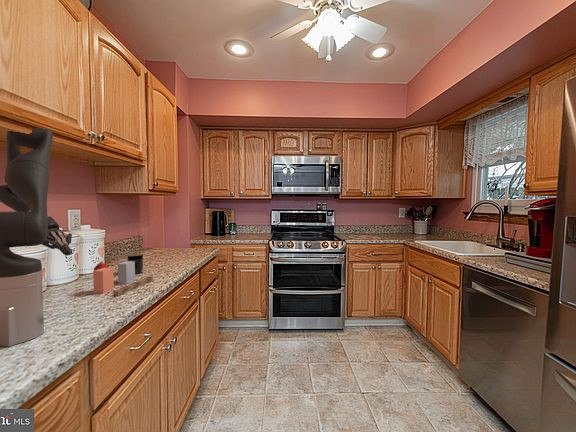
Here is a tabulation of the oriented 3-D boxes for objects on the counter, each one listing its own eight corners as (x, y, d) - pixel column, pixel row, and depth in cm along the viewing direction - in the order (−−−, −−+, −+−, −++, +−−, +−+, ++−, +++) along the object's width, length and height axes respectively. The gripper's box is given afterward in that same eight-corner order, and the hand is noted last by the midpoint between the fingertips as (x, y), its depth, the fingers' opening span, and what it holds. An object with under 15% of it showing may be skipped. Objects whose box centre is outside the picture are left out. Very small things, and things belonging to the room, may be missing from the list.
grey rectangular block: (126, 284, 111) (126, 264, 111) (118, 283, 112) (117, 263, 111) (135, 280, 116) (134, 261, 116) (126, 280, 117) (126, 261, 116)
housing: (118, 299, 97) (118, 291, 97) (85, 297, 99) (85, 289, 99) (152, 283, 117) (152, 276, 117) (125, 282, 119) (125, 275, 118)
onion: (101, 280, 121) (100, 263, 121) (90, 279, 122) (90, 262, 122) (111, 276, 127) (111, 260, 126) (101, 276, 128) (101, 259, 128)
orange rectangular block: (103, 293, 99) (102, 271, 99) (93, 293, 100) (93, 270, 100) (113, 289, 104) (113, 268, 104) (104, 288, 105) (104, 267, 104)
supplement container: (142, 277, 127) (142, 255, 126) (126, 278, 124) (125, 256, 124) (144, 273, 133) (144, 253, 133) (128, 274, 131) (128, 253, 130)
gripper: (28, 216, 97) (58, 250, 96) (63, 214, 110) (90, 244, 109) (16, 230, 98) (46, 264, 97) (52, 227, 111) (79, 257, 110)
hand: (69, 254), depth 103 cm, fingers closed
